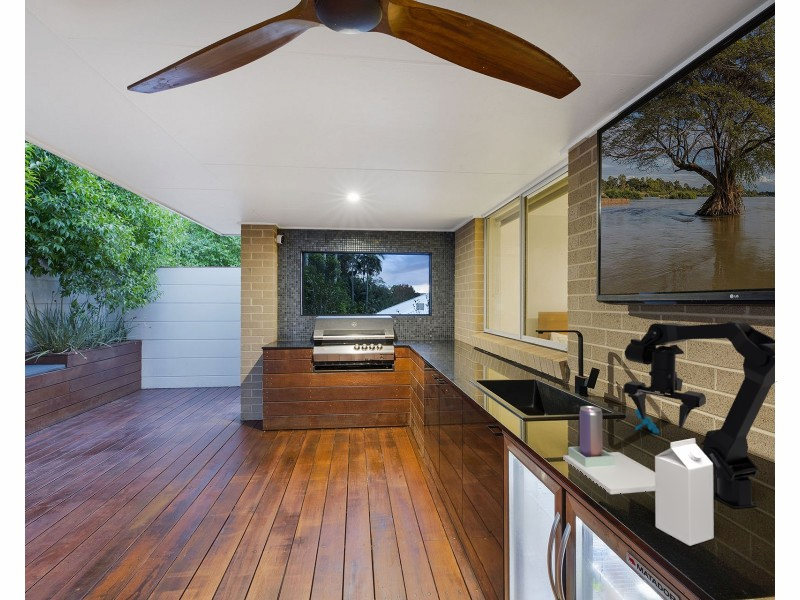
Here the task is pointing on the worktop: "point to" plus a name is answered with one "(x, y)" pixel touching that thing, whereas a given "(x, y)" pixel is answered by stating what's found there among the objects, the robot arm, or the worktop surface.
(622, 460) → the housing plate
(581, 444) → the beverage can
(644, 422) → the blue irregular branched piece
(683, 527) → the milk carton
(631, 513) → the worktop surface
